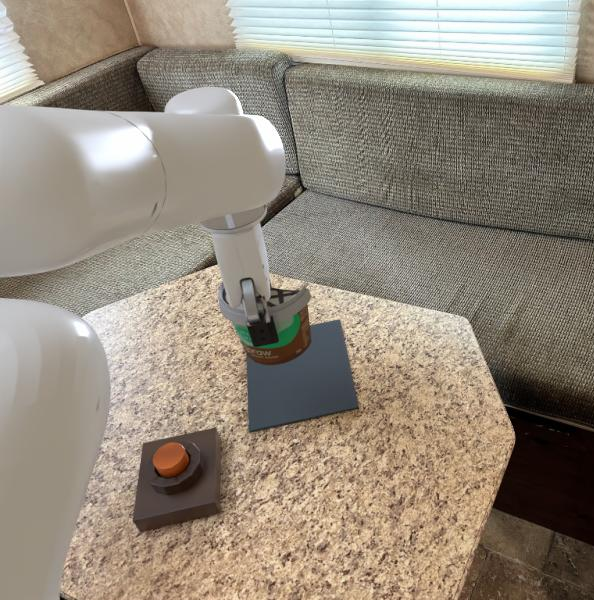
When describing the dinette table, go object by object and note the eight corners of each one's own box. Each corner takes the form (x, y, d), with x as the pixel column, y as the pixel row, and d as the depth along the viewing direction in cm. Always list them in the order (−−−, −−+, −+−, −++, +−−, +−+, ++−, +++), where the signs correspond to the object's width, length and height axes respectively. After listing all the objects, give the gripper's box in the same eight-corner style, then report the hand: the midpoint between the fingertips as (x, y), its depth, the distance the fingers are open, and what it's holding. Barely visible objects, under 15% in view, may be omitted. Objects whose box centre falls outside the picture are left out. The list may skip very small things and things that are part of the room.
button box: (220, 513, 77) (210, 493, 74) (140, 532, 76) (127, 513, 73) (221, 438, 86) (212, 418, 83) (149, 454, 85) (138, 434, 82)
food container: (220, 368, 80) (198, 310, 74) (238, 336, 85) (218, 280, 79) (308, 375, 78) (293, 316, 72) (322, 342, 83) (309, 284, 76)
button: (188, 474, 77) (183, 464, 76) (156, 481, 77) (151, 472, 75) (190, 449, 80) (185, 439, 79) (159, 455, 80) (154, 446, 78)
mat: (359, 408, 89) (358, 406, 88) (249, 432, 87) (248, 431, 86) (340, 320, 104) (339, 319, 103) (246, 339, 102) (245, 337, 102)
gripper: (198, 174, 73) (235, 288, 85) (192, 254, 60) (236, 376, 71) (261, 163, 74) (288, 277, 85) (268, 241, 61) (299, 363, 72)
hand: (264, 322), depth 78 cm, fingers closed on food container, 7 cm apart
